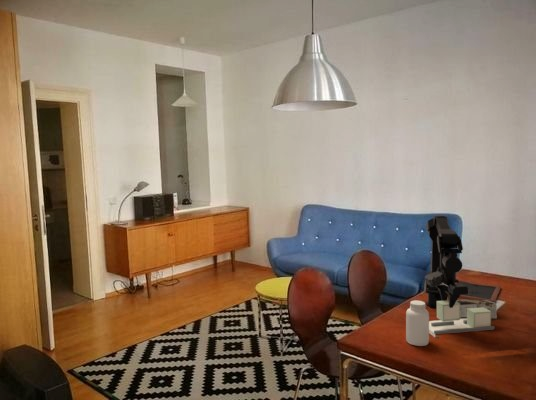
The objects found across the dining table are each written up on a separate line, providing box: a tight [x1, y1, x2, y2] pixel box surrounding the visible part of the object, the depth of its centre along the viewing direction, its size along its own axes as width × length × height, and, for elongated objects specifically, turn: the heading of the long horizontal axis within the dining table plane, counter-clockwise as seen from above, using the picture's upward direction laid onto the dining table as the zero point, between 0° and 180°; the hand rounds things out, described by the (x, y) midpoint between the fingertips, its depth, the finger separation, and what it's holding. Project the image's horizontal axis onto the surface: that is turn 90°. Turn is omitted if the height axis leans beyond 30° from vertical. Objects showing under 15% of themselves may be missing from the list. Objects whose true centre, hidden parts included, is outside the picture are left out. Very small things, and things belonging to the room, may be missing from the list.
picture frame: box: [455, 280, 501, 303], centre depth 208 cm, size 20×2×25 cm
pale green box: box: [436, 299, 461, 322], centre depth 162 cm, size 5×7×6 cm, turn 97°
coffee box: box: [457, 299, 498, 319], centre depth 176 cm, size 9×6×16 cm
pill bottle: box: [405, 300, 430, 347], centre depth 154 cm, size 8×8×15 cm
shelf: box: [429, 317, 496, 339], centre depth 165 cm, size 12×24×3 cm, turn 97°
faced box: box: [466, 307, 492, 328], centre depth 164 cm, size 5×7×6 cm, turn 97°
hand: (447, 305), depth 162 cm, fingers closed on pale green box, 5 cm apart
